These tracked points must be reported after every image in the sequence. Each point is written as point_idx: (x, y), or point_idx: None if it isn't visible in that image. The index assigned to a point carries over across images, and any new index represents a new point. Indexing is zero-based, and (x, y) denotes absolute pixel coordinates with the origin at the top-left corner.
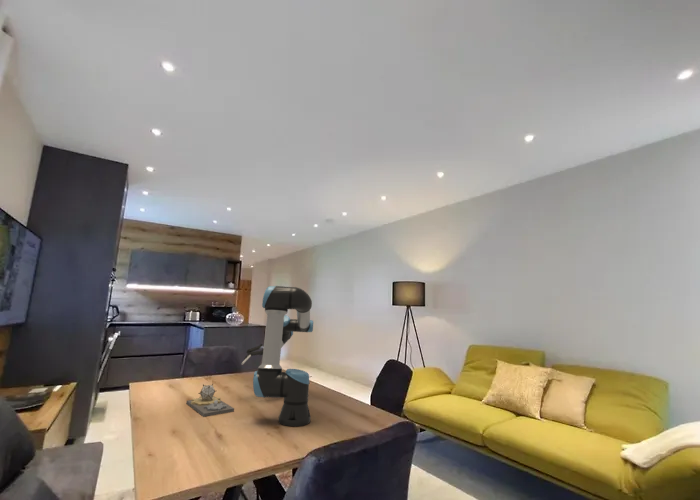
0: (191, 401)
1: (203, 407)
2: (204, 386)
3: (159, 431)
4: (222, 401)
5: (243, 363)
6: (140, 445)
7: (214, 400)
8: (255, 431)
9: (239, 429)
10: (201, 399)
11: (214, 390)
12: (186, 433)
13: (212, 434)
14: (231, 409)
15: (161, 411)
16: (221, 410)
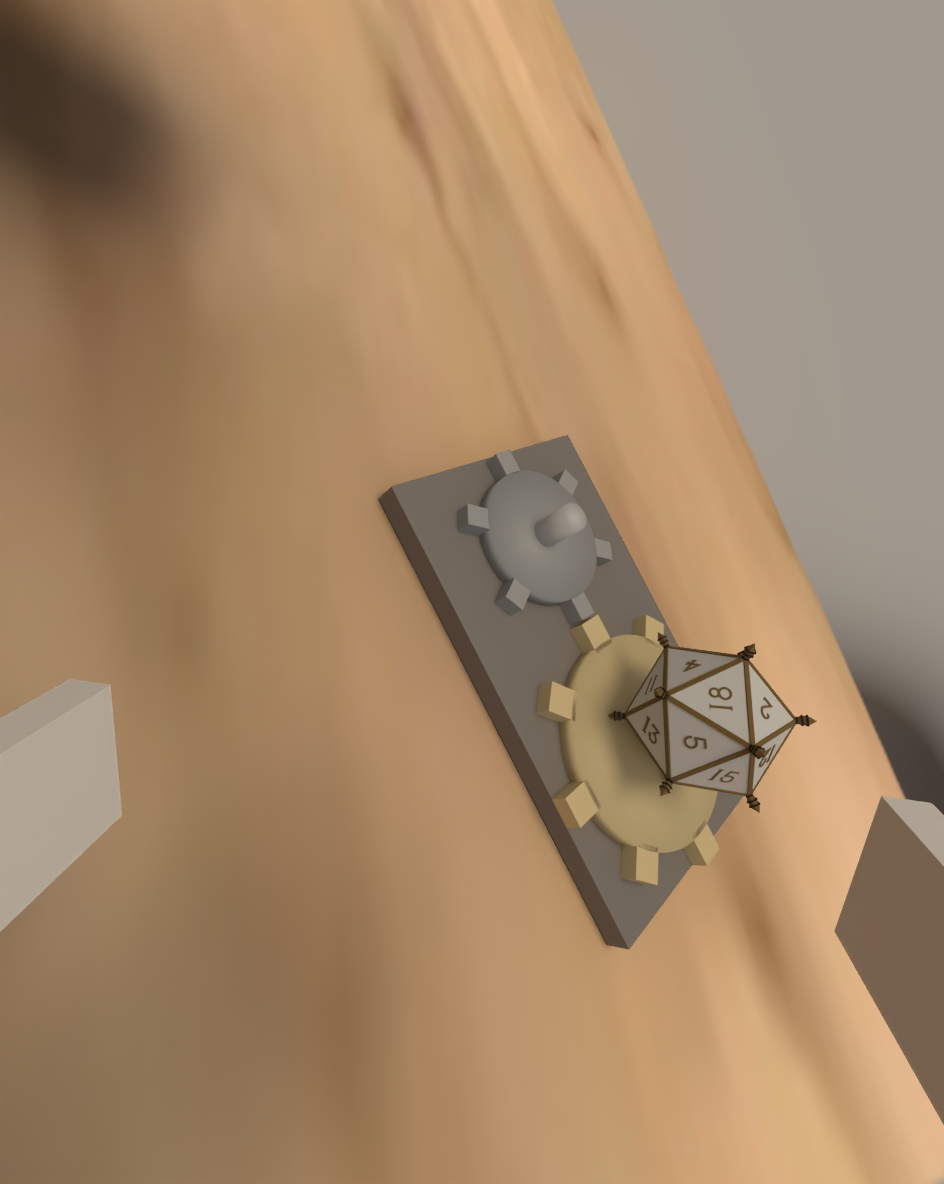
0: None
1: (608, 577)
2: (780, 702)
3: (652, 325)
4: (524, 742)
5: (875, 898)
6: (647, 225)
7: (591, 711)
8: (189, 20)
9: (304, 122)
10: None
11: (676, 689)
12: (554, 242)
13: (444, 157)
14: (408, 483)
15: (761, 620)
16: (480, 463)
